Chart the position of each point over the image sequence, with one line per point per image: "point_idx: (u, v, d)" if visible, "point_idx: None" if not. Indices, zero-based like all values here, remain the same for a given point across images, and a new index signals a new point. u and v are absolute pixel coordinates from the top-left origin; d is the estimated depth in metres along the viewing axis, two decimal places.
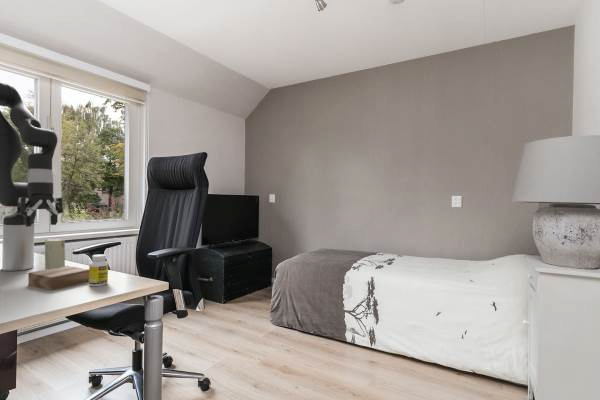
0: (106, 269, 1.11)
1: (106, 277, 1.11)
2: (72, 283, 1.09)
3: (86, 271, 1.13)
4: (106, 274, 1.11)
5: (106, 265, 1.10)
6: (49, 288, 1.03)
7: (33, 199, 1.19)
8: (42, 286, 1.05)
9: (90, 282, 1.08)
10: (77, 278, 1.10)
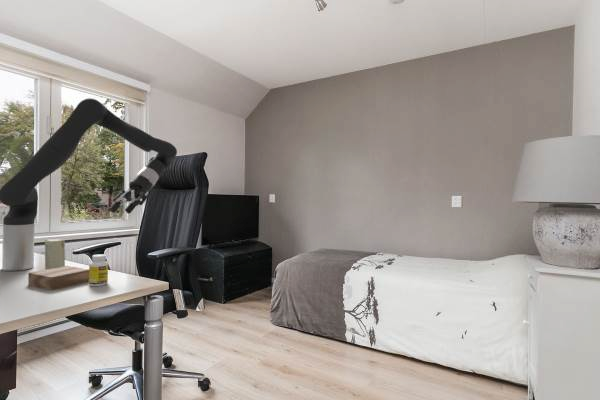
0: (106, 269, 1.11)
1: (106, 277, 1.11)
2: (72, 283, 1.09)
3: (86, 271, 1.13)
4: (106, 274, 1.11)
5: (106, 265, 1.10)
6: (49, 288, 1.03)
7: None
8: (42, 286, 1.05)
9: (90, 282, 1.08)
10: (77, 278, 1.10)
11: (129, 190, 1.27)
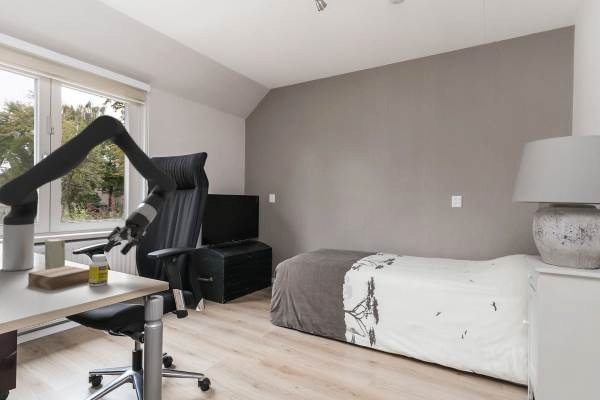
0: (106, 269, 1.11)
1: (106, 277, 1.11)
2: (72, 283, 1.09)
3: (86, 271, 1.13)
4: (106, 274, 1.11)
5: (106, 265, 1.10)
6: (49, 288, 1.03)
7: None
8: (42, 286, 1.05)
9: (90, 282, 1.08)
10: (77, 278, 1.10)
11: (125, 228, 1.20)
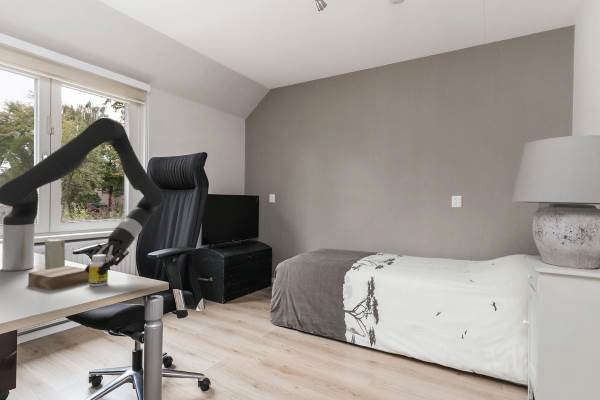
0: None
1: (106, 277, 1.11)
2: (72, 283, 1.09)
3: None
4: (106, 274, 1.11)
5: None
6: (49, 288, 1.03)
7: None
8: (42, 286, 1.05)
9: (90, 282, 1.08)
10: (77, 278, 1.10)
11: (108, 245, 1.14)
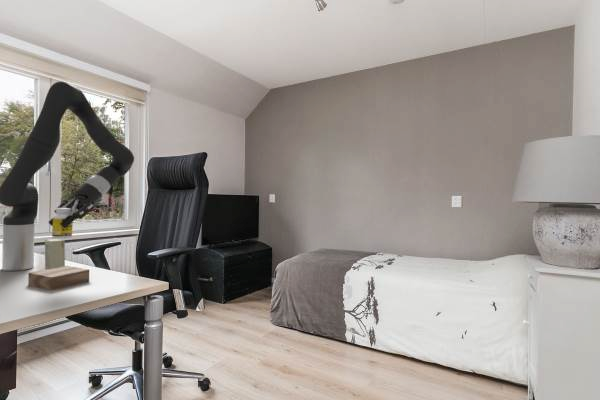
0: None
1: (70, 230, 1.11)
2: (72, 283, 1.09)
3: (86, 271, 1.13)
4: (70, 227, 1.10)
5: None
6: (49, 288, 1.03)
7: None
8: (42, 286, 1.05)
9: (53, 234, 1.08)
10: (77, 278, 1.10)
11: (73, 199, 1.14)
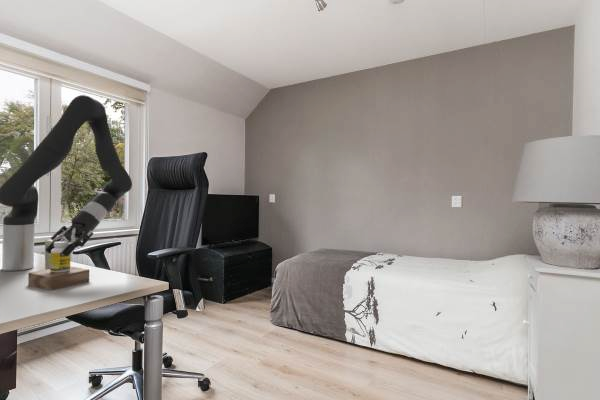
0: (68, 256, 1.11)
1: (68, 264, 1.11)
2: (72, 283, 1.09)
3: (86, 271, 1.13)
4: (68, 261, 1.11)
5: None
6: (49, 288, 1.03)
7: None
8: (42, 286, 1.05)
9: (51, 268, 1.08)
10: (77, 278, 1.10)
11: (70, 228, 1.14)
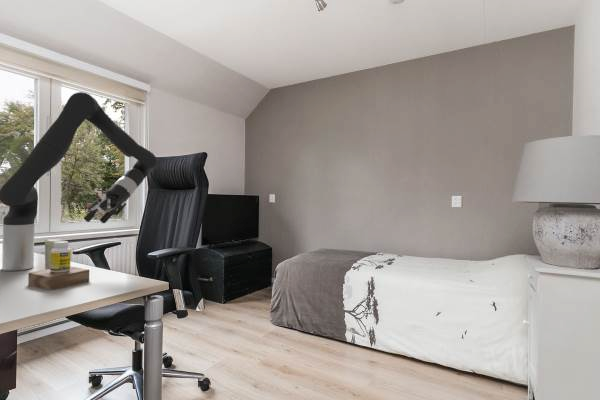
0: (68, 256, 1.11)
1: (68, 264, 1.11)
2: (72, 283, 1.09)
3: (86, 271, 1.13)
4: (68, 261, 1.11)
5: (68, 252, 1.11)
6: (49, 288, 1.03)
7: None
8: (42, 286, 1.05)
9: (51, 268, 1.08)
10: (77, 278, 1.10)
11: (105, 199, 1.26)
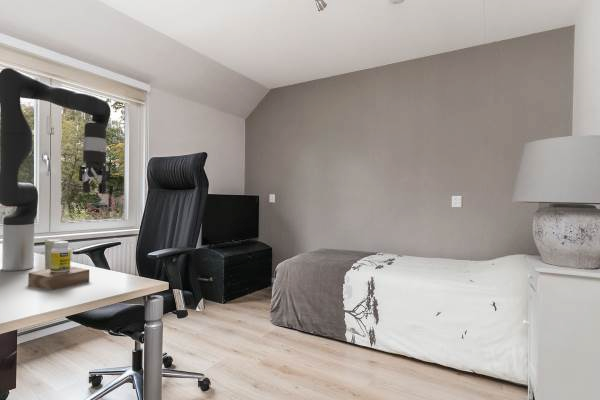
0: (68, 256, 1.11)
1: (68, 264, 1.11)
2: (72, 283, 1.09)
3: (86, 271, 1.13)
4: (68, 261, 1.11)
5: (68, 252, 1.10)
6: (49, 288, 1.03)
7: None
8: (42, 286, 1.05)
9: (51, 268, 1.08)
10: (77, 278, 1.10)
11: (88, 168, 1.24)
